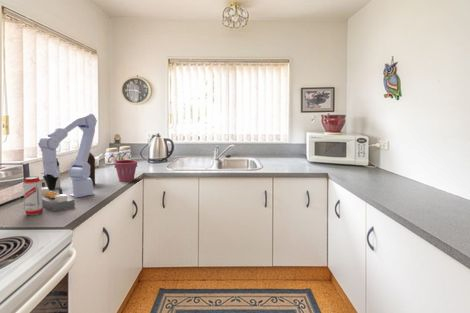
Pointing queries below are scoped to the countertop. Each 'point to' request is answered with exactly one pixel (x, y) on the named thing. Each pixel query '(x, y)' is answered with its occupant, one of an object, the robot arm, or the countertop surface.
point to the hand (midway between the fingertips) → (51, 189)
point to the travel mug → (57, 179)
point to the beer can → (33, 195)
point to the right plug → (60, 196)
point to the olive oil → (92, 169)
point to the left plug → (44, 190)
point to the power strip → (56, 203)
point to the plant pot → (125, 169)
